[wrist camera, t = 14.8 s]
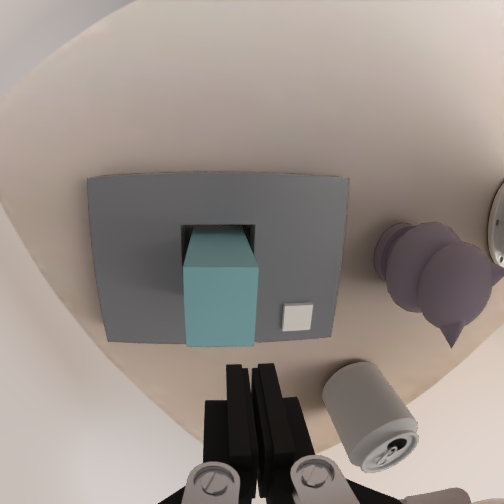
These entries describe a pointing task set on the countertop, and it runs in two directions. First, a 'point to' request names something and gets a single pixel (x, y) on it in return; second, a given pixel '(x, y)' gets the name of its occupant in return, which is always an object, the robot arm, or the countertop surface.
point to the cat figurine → (436, 274)
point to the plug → (220, 288)
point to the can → (369, 417)
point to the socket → (216, 213)
